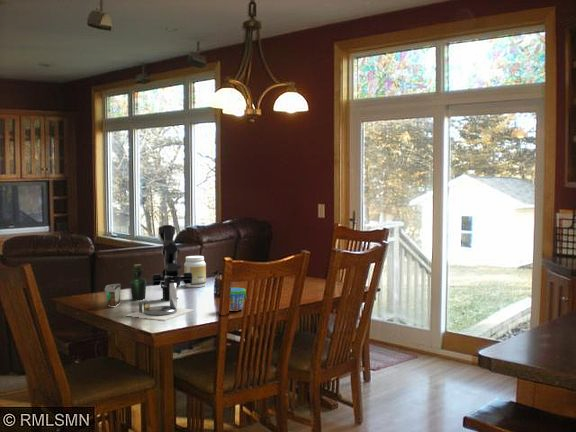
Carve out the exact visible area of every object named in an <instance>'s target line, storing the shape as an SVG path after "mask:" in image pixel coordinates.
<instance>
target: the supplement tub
mask: <svg viewBox="0 0 576 432" xmlns="http://www.w3.org/2000/svg"><path fill="white" fill-rule="evenodd" d="M183 265H184V270H183V271H184V272H183V274H184V273H188V272H191V273H192V283H190V284H185V283H184V286H185V287H186V288H194V289H195V288H203V287H205V286H206V285H207V263H206V262H205V257H204V255H188V256H185V262H184V264H183Z"/></svg>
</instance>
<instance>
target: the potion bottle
mask: <svg viewBox="0 0 576 432" xmlns="http://www.w3.org/2000/svg"><path fill="white" fill-rule="evenodd" d="M133 266H134V268H133V269H132V270H131V272H132V273H133V274H134V277H133V278H132V279H130V281H129V282H130V291H131V300H132V301H135V300H139V301H144V300H145V299H146V295H147V294H146V291H147V280H146V278H144V277H142V273H143V272H144V269H143V268H142V264H141V263H138V264H133ZM143 299H144V300H143Z"/></svg>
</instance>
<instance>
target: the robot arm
mask: <svg viewBox="0 0 576 432" xmlns="http://www.w3.org/2000/svg"><path fill="white" fill-rule="evenodd" d="M174 235H176V226H174V225H171V224H163V225H162V226H159V227H158V236H159V239H160V241H161V242H162V247H161V255H162V256H163V264H164V269H162V272H161V273H154V274H152V276H151V285H152V286H160V289H162V298H160V300H161V301H169V302H170V291H169V283H176V289H177V288H179V287H180V285H181V281H183V283H184V285H185V284H190V283H192V273H191V272H188V273H184V272H183V275H179V271H181V270H182V267H183V266H182V262H181V261H179V262H178V261H177V258H178V254H179V253H180V248H179V247H178V246H177V243H176V242H175V241H174V237H175V236H174ZM178 299H179V297H177V300H178Z"/></svg>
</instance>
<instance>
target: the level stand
mask: <svg viewBox="0 0 576 432" xmlns="http://www.w3.org/2000/svg"><path fill="white" fill-rule="evenodd" d="M146 304H148V301H147V300H145V299H144V300H141V301H140V302H139V301H138V311H136V312H135V311H134V312H132V313H128V314H126V315H125V317H126V316H132V317H131V318H135V317H139V318H138V319H144V318H147V319H146V320H154V321H163V322H166V321H169V320H172V319H174V318H178V317H180V316H181V317H182V315H183V316H184V315H185V314H190V313H192V312H194V311H195V309H191V308H182V307H177V312H175V313H172V314H168V315H147V314H144V309H145V308H144V306H145V305H146Z"/></svg>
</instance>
